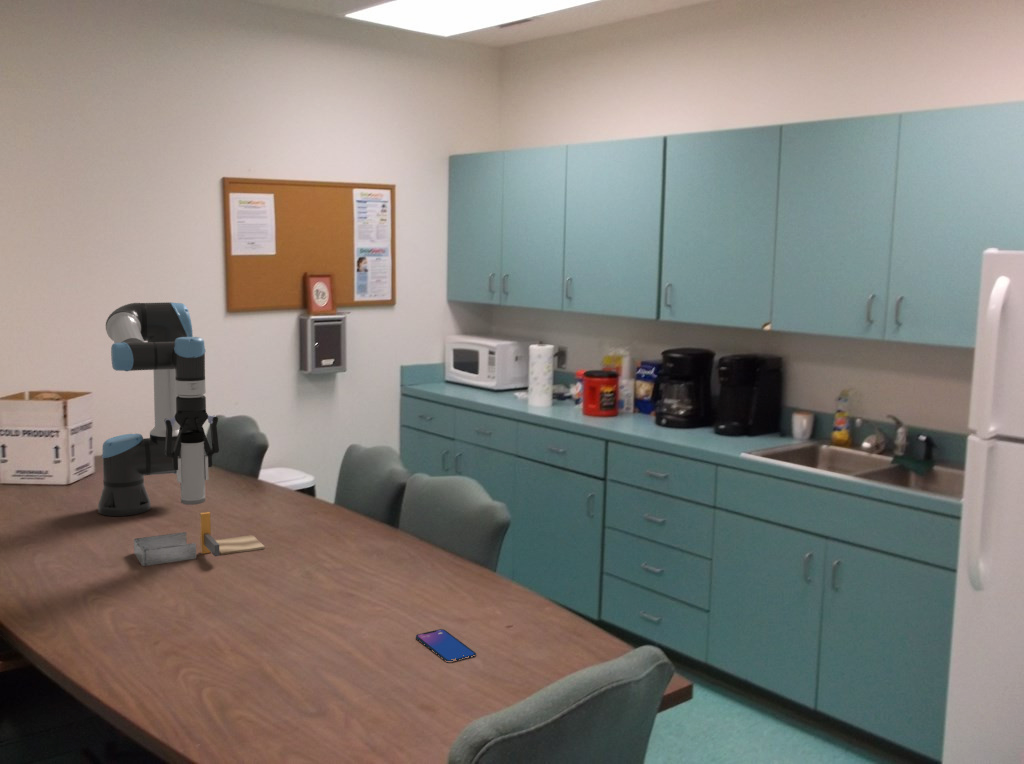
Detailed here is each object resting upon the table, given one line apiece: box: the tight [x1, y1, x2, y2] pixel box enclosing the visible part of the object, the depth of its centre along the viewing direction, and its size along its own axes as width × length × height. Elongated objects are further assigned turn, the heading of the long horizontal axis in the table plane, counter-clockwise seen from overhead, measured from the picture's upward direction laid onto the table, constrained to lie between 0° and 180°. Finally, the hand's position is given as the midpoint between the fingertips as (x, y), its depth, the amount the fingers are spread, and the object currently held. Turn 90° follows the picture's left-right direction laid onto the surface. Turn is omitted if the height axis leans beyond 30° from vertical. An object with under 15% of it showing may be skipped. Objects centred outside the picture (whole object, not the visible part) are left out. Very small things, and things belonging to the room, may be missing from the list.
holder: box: [133, 531, 197, 567], centre depth 252 cm, size 12×14×4 cm
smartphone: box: [415, 628, 477, 661], centre depth 199 cm, size 7×1×15 cm
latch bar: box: [199, 511, 221, 557], centre depth 250 cm, size 13×2×11 cm, turn 32°
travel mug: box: [179, 430, 206, 506], centre depth 253 cm, size 6×7×20 cm
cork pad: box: [214, 534, 266, 556], centre depth 262 cm, size 12×12×1 cm
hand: (192, 480), depth 253 cm, fingers closed on travel mug, 6 cm apart
